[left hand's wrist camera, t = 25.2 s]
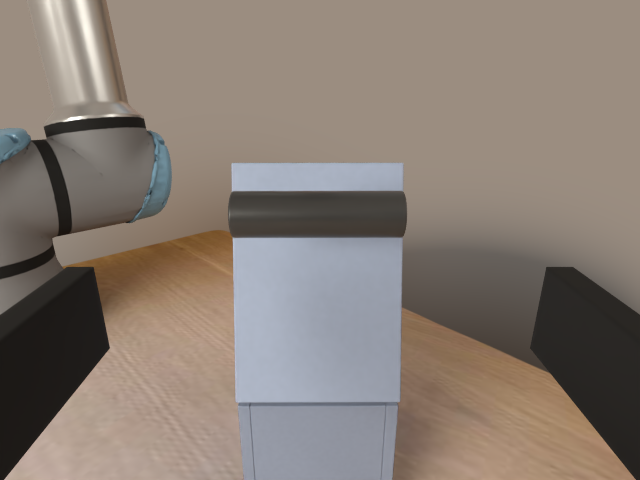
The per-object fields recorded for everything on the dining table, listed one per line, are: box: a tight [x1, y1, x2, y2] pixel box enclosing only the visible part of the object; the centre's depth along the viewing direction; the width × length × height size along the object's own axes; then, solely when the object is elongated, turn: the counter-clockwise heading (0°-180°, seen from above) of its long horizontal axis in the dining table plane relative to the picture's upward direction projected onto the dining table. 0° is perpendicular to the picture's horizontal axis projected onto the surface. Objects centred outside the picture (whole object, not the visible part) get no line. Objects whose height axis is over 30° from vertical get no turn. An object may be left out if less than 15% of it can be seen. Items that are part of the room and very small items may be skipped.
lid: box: [228, 163, 407, 403], centre depth 21 cm, size 14×10×8 cm
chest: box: [238, 402, 398, 480], centre depth 33 cm, size 13×10×10 cm
